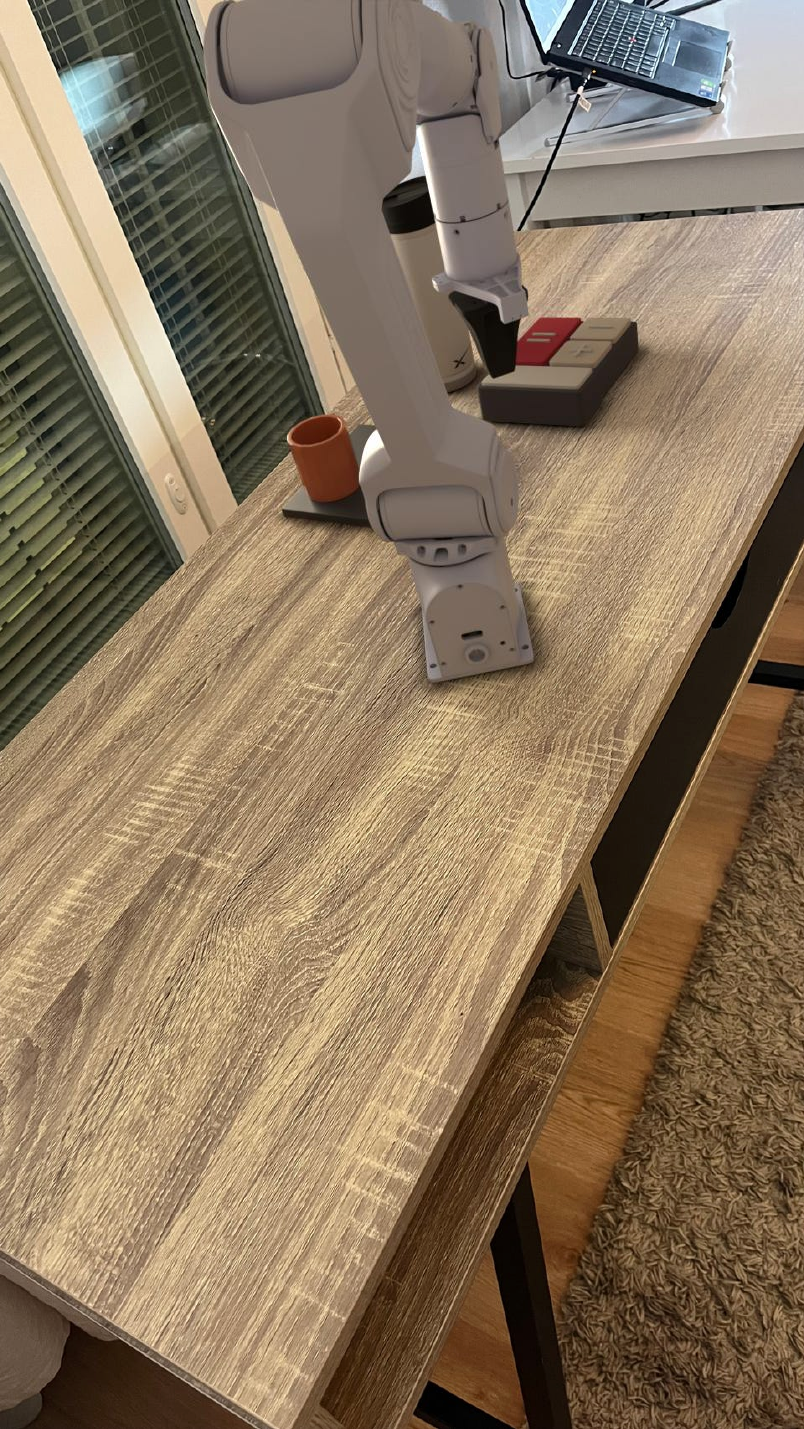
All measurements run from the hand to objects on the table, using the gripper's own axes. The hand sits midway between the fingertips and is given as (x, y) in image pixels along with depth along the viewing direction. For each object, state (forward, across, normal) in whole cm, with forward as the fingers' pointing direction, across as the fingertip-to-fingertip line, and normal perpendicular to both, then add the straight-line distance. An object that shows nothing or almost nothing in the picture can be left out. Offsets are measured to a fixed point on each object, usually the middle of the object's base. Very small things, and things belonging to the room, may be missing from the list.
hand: (501, 372), depth 90 cm
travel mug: (+11, -23, 0) cm, 25 cm away
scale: (+10, -9, -12) cm, 18 cm away
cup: (+10, -8, -16) cm, 20 cm away
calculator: (+11, -13, +9) cm, 19 cm away
